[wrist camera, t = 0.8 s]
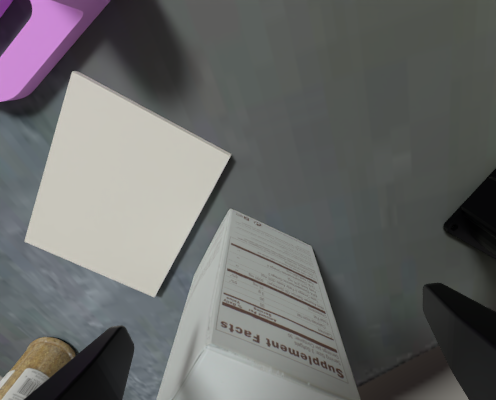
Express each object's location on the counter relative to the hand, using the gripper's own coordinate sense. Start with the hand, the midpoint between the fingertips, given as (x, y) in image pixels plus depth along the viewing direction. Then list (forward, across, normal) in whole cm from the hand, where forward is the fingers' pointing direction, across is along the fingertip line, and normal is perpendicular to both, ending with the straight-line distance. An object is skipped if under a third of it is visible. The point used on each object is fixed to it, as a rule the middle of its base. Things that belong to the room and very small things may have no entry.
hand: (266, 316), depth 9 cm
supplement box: (+14, +2, +7) cm, 16 cm away
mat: (+13, +11, 0) cm, 17 cm away
